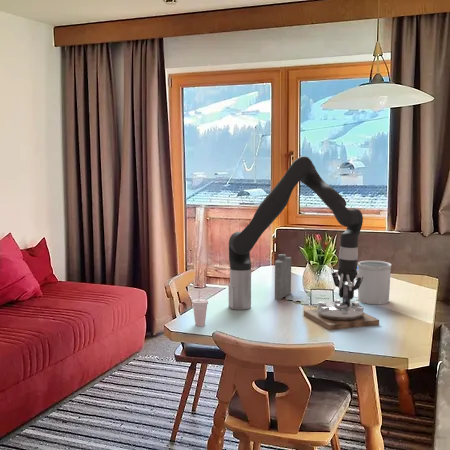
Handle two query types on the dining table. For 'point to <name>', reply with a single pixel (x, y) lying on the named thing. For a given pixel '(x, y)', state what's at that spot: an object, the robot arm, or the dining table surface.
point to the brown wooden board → (340, 321)
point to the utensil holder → (374, 282)
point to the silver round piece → (341, 308)
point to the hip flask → (282, 276)
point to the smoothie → (200, 310)
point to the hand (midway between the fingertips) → (346, 298)
